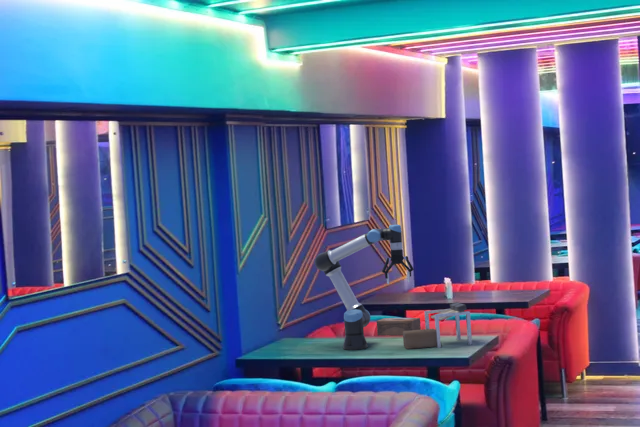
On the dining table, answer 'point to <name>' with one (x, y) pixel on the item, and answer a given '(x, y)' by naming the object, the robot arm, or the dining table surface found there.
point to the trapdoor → (452, 310)
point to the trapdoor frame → (456, 324)
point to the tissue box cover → (397, 326)
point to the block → (419, 338)
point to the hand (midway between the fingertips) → (398, 282)
